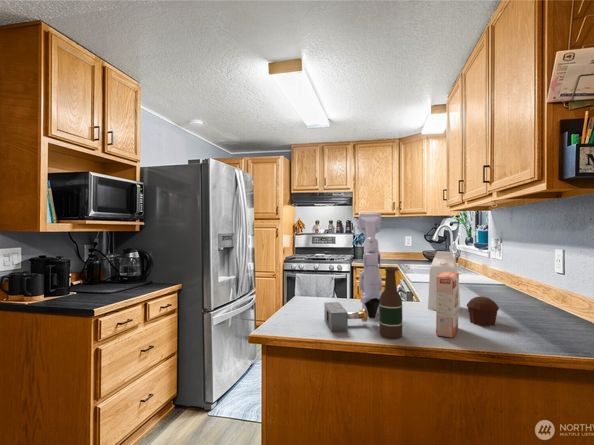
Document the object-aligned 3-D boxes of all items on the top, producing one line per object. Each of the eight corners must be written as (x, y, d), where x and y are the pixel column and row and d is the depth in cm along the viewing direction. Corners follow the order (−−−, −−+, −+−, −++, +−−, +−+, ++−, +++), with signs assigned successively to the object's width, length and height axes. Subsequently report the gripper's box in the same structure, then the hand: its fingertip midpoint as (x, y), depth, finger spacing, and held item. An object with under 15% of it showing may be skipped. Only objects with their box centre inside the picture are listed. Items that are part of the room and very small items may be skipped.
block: (338, 319, 141) (338, 302, 141) (347, 331, 126) (347, 312, 126) (324, 319, 141) (324, 302, 141) (331, 332, 125) (331, 312, 125)
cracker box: (454, 339, 117) (454, 277, 117) (435, 336, 120) (435, 276, 120) (459, 328, 129) (459, 272, 129) (442, 325, 132) (442, 271, 132)
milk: (460, 306, 160) (459, 251, 160) (456, 312, 151) (456, 253, 150) (433, 303, 167) (432, 250, 167) (427, 308, 157) (427, 252, 157)
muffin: (503, 328, 128) (503, 301, 128) (471, 326, 130) (471, 300, 130) (493, 319, 139) (493, 294, 139) (463, 318, 142) (463, 293, 142)
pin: (363, 319, 137) (363, 307, 137) (367, 323, 132) (367, 310, 132) (338, 320, 136) (337, 308, 136) (340, 324, 131) (340, 311, 131)
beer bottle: (402, 333, 123) (402, 266, 123) (402, 340, 116) (401, 269, 116) (380, 331, 126) (380, 265, 126) (378, 338, 118) (378, 268, 118)
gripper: (371, 279, 143) (371, 312, 143) (353, 284, 131) (353, 320, 131) (387, 281, 138) (387, 315, 138) (370, 286, 127) (370, 323, 127)
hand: (372, 317), depth 134 cm, fingers closed
